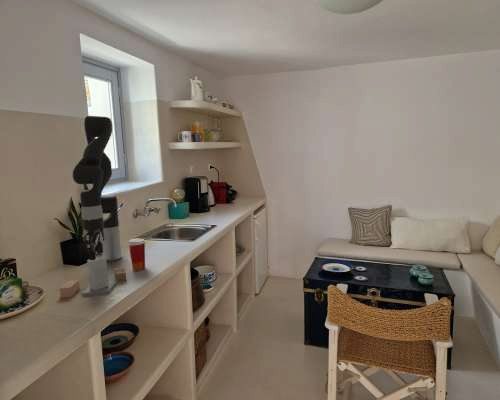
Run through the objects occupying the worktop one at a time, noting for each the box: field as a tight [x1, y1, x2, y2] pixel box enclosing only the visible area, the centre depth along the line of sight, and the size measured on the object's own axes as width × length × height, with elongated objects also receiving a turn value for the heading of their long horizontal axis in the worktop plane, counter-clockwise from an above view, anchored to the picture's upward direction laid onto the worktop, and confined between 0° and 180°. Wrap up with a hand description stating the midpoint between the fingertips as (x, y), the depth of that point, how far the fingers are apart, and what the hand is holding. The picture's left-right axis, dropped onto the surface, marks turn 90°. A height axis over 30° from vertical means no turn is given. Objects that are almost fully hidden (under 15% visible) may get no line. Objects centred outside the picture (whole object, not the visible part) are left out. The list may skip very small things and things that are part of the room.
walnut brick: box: [113, 267, 127, 284], centre depth 149 cm, size 8×4×4 cm, turn 27°
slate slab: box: [81, 281, 117, 297], centre depth 138 cm, size 10×10×2 cm
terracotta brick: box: [59, 279, 81, 299], centre depth 136 cm, size 8×4×4 cm, turn 5°
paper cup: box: [127, 237, 146, 272], centre depth 161 cm, size 8×8×14 cm
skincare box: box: [86, 255, 109, 291], centre depth 137 cm, size 6×4×12 cm
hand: (96, 256), depth 136 cm, fingers open, 8 cm apart
